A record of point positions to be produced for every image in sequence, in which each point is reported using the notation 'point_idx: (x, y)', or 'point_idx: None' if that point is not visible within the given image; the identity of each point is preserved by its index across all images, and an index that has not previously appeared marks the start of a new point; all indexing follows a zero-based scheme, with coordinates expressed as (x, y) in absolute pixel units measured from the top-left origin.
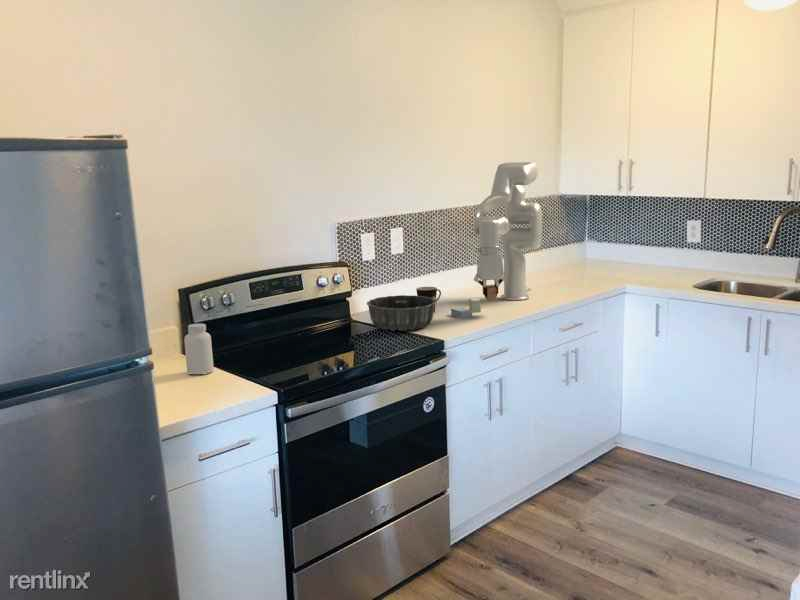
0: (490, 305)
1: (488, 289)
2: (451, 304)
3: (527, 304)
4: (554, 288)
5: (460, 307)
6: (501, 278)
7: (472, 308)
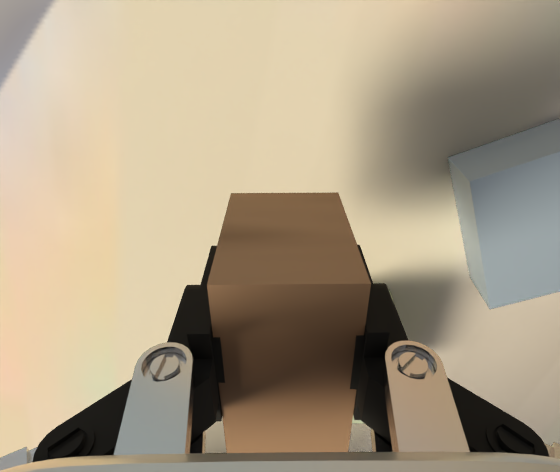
0: None
1: (351, 273)
2: None
3: (27, 392)
4: None
5: (503, 301)
6: (5, 470)
7: None
